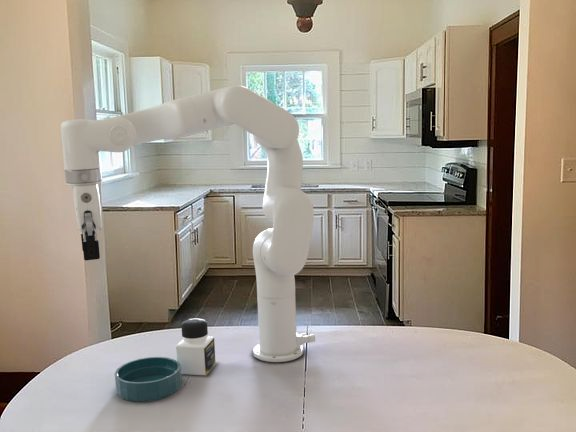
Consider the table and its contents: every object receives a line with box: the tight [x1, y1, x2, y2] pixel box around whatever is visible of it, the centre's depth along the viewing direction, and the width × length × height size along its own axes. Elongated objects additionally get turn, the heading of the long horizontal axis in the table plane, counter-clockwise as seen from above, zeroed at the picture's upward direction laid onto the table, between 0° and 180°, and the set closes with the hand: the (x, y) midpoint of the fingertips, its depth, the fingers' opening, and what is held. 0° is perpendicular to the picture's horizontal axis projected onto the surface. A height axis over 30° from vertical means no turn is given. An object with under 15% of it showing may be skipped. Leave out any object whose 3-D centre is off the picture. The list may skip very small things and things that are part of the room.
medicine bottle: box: [175, 317, 217, 376], centre depth 143 cm, size 7×7×12 cm
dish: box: [114, 356, 183, 403], centre depth 134 cm, size 14×14×4 cm
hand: (91, 254), depth 132 cm, fingers open, 9 cm apart
